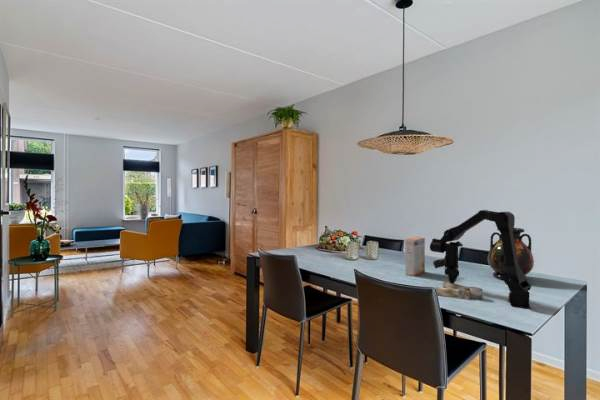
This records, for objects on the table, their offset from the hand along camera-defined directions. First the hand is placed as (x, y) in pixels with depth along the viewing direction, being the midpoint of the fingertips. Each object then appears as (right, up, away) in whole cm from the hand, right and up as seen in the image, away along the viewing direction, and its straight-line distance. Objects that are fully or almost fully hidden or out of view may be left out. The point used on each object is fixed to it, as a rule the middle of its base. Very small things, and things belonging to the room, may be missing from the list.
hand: (451, 285), depth 159 cm
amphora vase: (+42, -1, +19) cm, 46 cm away
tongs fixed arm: (-5, -2, -12) cm, 13 cm away
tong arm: (+1, -1, -9) cm, 9 cm away
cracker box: (-7, -1, +30) cm, 31 cm away
